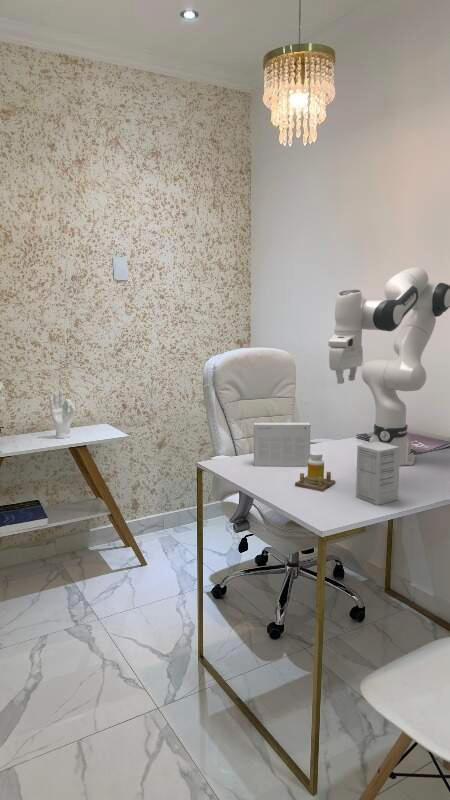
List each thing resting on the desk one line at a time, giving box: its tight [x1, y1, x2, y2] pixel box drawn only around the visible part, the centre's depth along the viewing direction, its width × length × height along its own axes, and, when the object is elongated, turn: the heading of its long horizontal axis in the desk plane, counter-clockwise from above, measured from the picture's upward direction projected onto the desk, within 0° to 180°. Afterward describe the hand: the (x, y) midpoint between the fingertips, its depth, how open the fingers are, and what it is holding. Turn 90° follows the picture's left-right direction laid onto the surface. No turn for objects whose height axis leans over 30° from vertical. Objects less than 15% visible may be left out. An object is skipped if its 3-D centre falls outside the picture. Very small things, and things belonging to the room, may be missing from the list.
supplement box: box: [355, 442, 400, 506], centre depth 171 cm, size 10×9×17 cm
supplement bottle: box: [306, 451, 325, 484], centre depth 185 cm, size 5×5×10 cm
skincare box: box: [253, 422, 311, 467], centre depth 209 cm, size 21×5×16 cm, turn 88°
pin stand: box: [294, 471, 336, 492], centre depth 186 cm, size 10×10×4 cm
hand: (346, 382), depth 184 cm, fingers open, 8 cm apart
